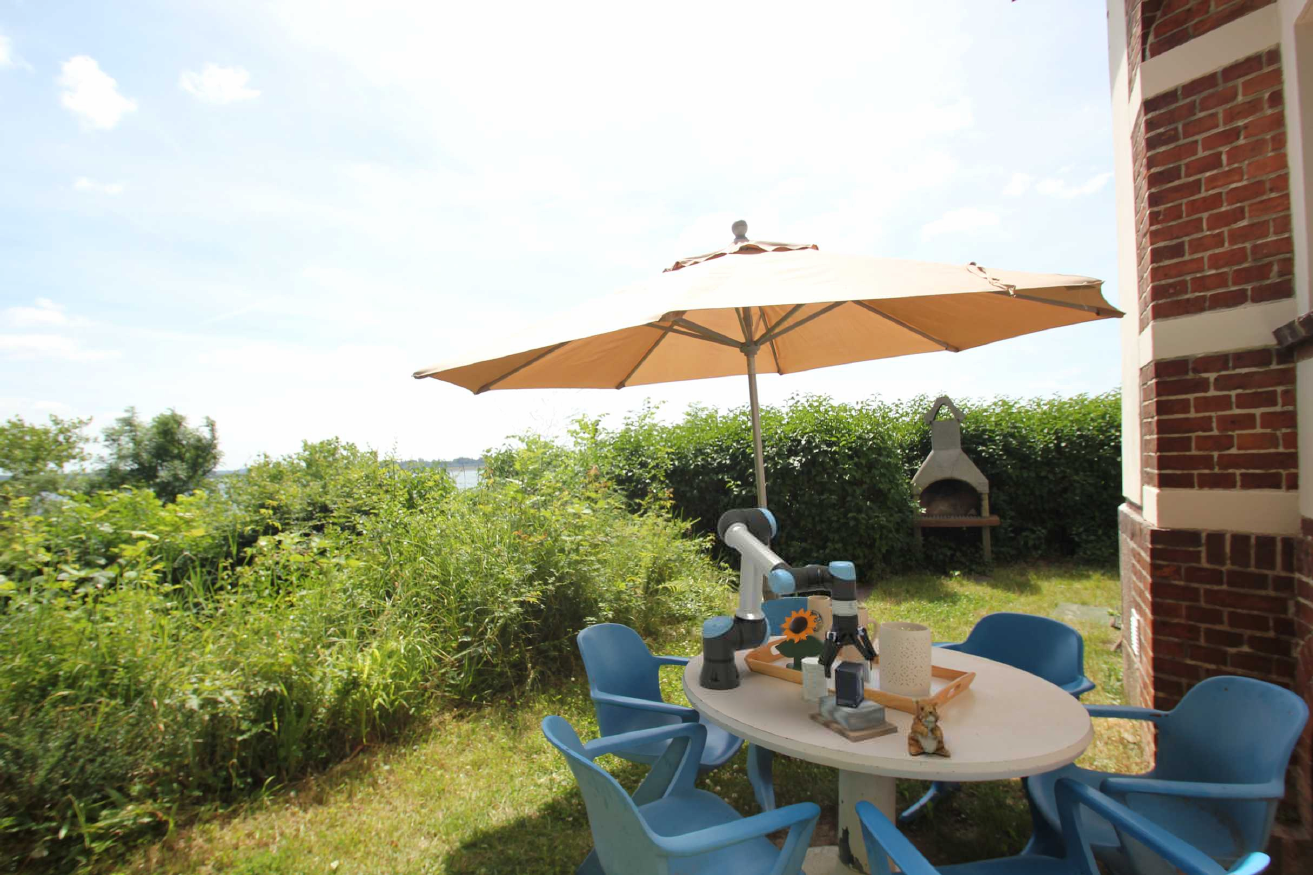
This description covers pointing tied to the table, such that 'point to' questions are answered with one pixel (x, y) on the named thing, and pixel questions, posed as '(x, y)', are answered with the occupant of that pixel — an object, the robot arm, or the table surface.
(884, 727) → the building base
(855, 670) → the small box
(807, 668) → the cup
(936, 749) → the stuffed squirrel
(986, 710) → the table surface
